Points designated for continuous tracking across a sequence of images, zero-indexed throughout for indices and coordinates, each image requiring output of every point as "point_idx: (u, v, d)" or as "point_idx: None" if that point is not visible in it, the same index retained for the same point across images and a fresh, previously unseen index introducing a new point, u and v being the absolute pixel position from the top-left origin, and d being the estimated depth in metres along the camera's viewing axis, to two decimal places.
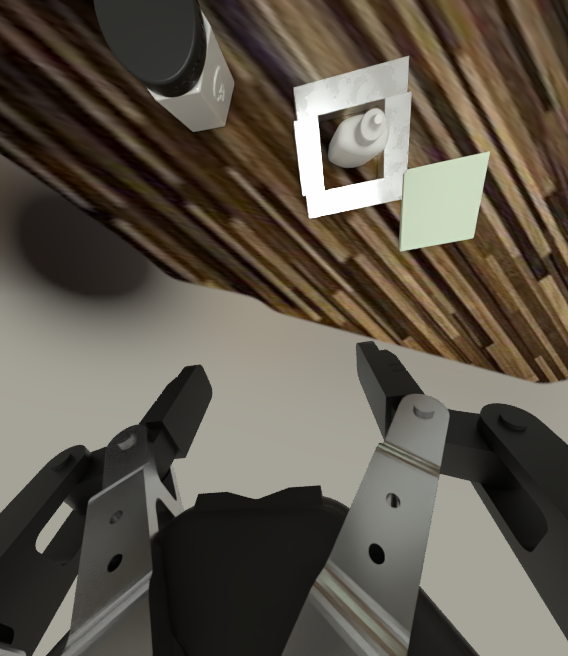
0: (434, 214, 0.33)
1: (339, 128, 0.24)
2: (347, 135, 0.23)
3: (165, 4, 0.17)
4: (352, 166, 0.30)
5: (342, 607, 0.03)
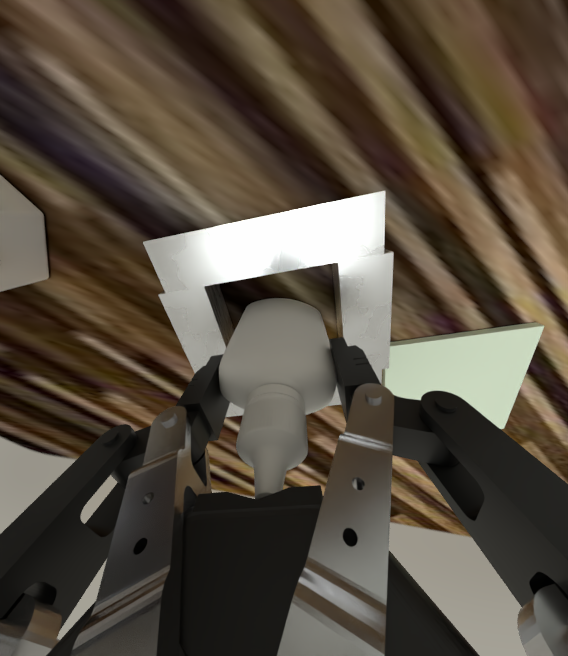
0: None
1: (219, 370, 0.10)
2: (234, 397, 0.10)
3: None
4: None
5: (325, 598, 0.03)
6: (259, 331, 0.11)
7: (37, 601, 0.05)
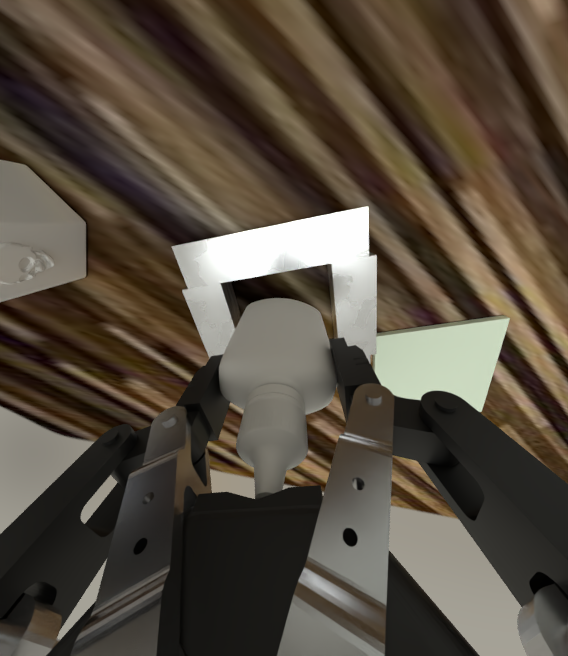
0: (423, 385, 0.22)
1: (219, 370, 0.10)
2: (234, 397, 0.10)
3: None
4: None
5: (325, 598, 0.03)
6: (259, 331, 0.11)
7: (37, 601, 0.05)
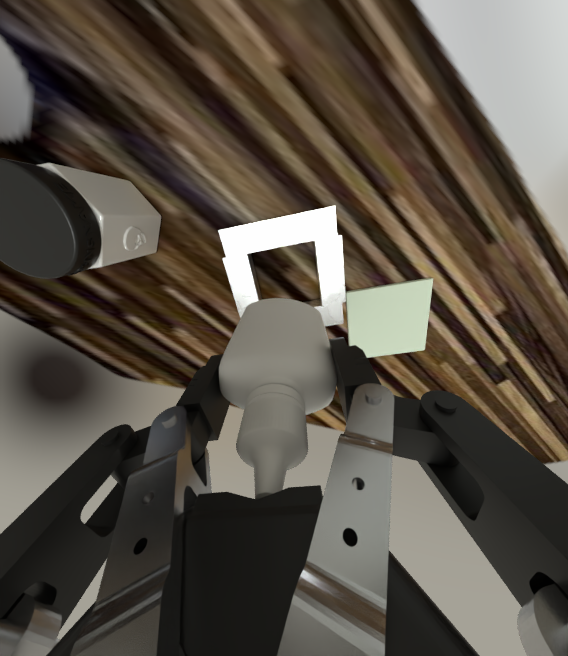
0: (382, 329, 0.32)
1: (219, 370, 0.10)
2: (234, 397, 0.10)
3: (38, 219, 0.16)
4: None
5: (325, 599, 0.03)
6: (259, 331, 0.11)
7: (37, 601, 0.05)
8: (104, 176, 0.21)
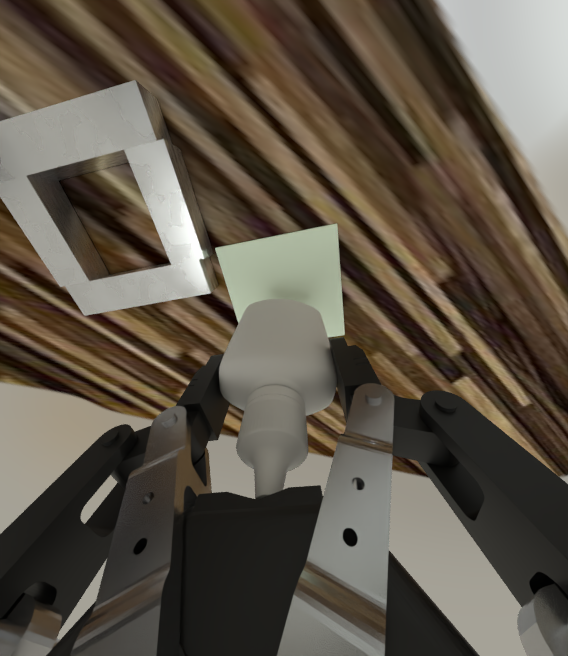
0: None
1: (219, 371, 0.10)
2: (234, 398, 0.10)
3: None
4: None
5: (325, 599, 0.03)
6: (259, 332, 0.11)
7: (37, 601, 0.05)
8: None
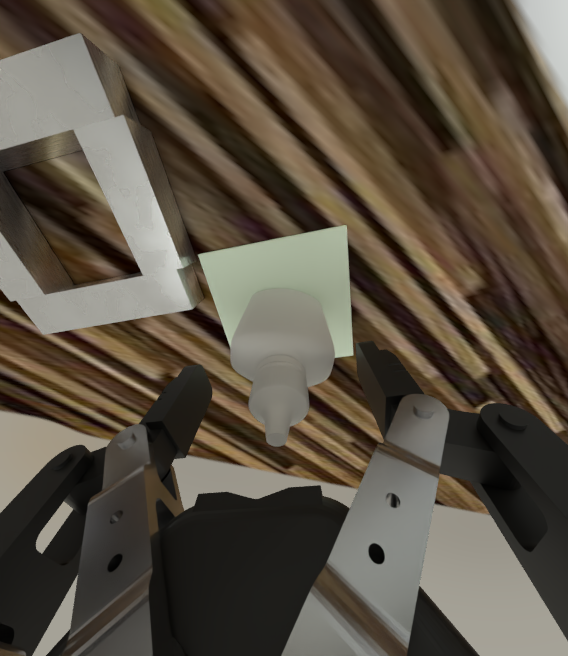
0: None
1: None
2: (244, 368, 0.11)
3: None
4: None
5: (342, 607, 0.03)
6: (266, 314, 0.13)
7: None
8: None
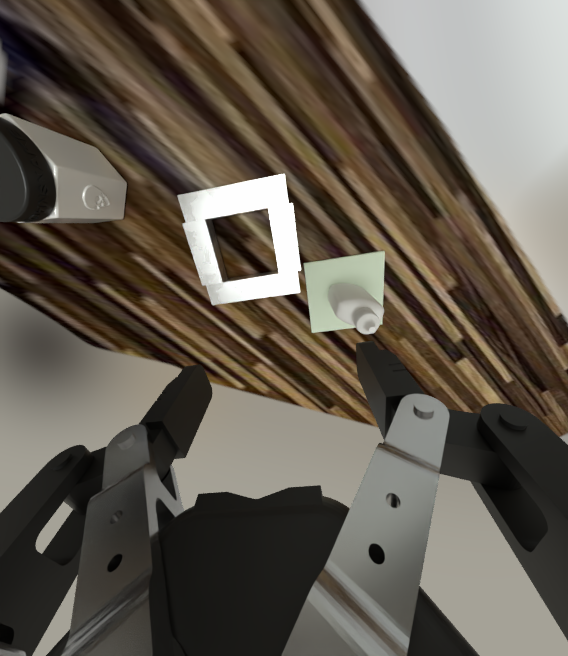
0: None
1: (338, 305, 0.26)
2: (345, 314, 0.25)
3: None
4: None
5: (342, 607, 0.03)
6: (349, 293, 0.27)
7: None
8: (67, 137, 0.23)
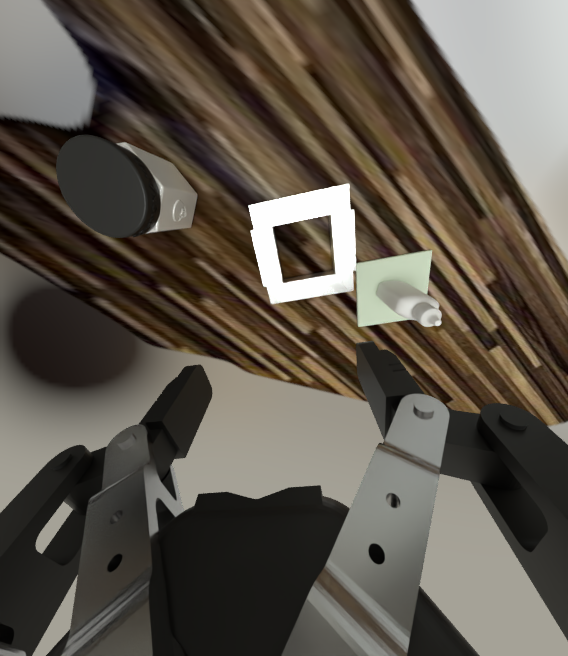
0: None
1: (397, 301, 0.28)
2: (404, 310, 0.28)
3: (119, 186, 0.20)
4: None
5: (342, 607, 0.03)
6: (405, 290, 0.30)
7: None
8: (157, 157, 0.25)
